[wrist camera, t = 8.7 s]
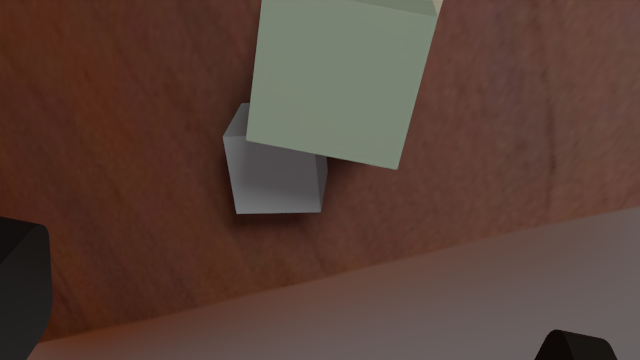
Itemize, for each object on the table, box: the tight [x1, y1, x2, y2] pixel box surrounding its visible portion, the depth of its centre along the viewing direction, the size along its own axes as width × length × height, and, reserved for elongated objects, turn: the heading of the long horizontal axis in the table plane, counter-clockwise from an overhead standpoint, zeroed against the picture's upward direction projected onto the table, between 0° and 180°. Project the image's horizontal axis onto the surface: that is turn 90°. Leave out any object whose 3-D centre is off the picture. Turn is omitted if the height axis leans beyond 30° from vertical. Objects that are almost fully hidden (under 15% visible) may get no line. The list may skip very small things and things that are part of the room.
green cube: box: [246, 0, 438, 170], centre depth 20 cm, size 5×5×5 cm
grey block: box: [223, 103, 328, 214], centre depth 28 cm, size 4×4×4 cm
